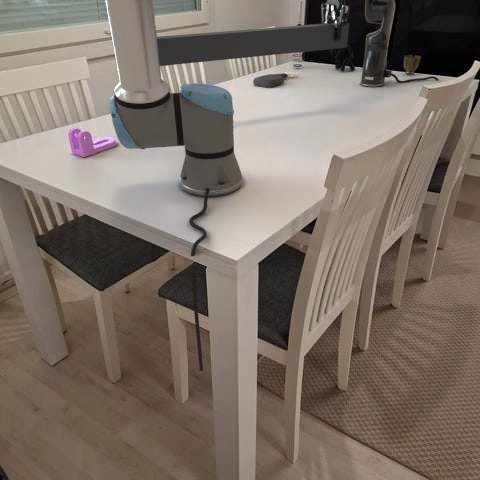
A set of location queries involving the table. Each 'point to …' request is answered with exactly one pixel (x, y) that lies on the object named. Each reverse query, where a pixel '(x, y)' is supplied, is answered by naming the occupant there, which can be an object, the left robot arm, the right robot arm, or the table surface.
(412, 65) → the cup
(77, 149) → the bracket
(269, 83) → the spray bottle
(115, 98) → the left robot arm
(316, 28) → the bar
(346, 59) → the black irregular legged piece
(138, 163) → the table surface
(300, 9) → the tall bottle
